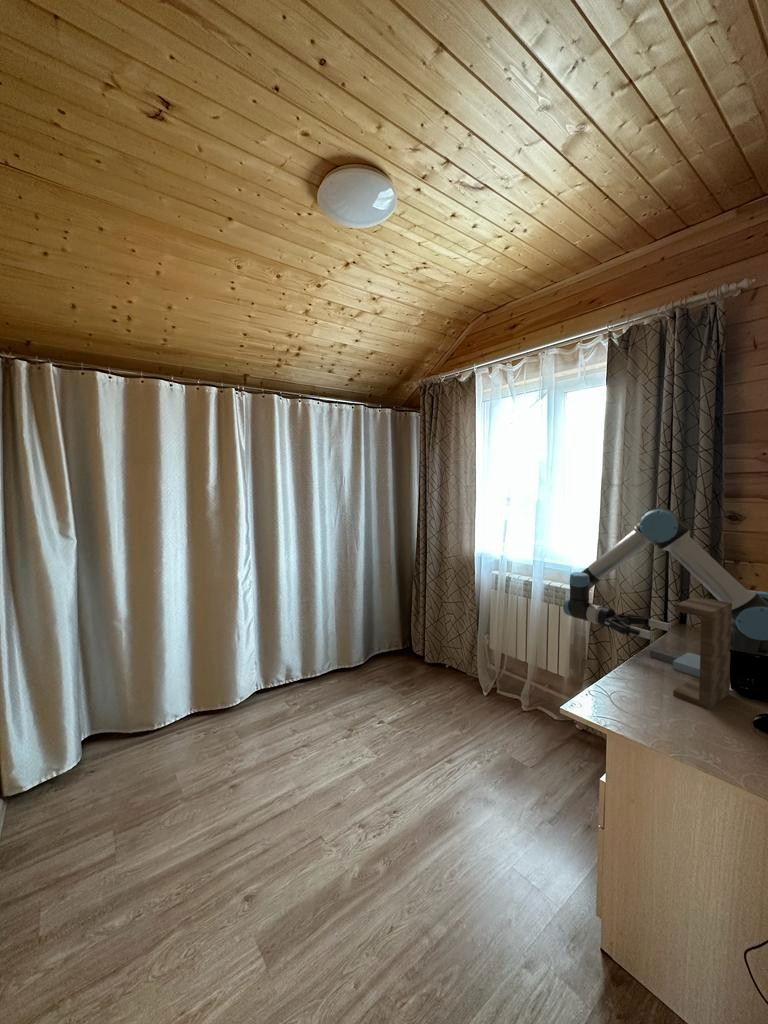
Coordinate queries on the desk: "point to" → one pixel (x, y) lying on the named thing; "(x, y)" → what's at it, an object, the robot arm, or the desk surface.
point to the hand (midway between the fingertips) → (659, 631)
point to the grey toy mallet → (679, 661)
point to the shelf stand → (709, 651)
